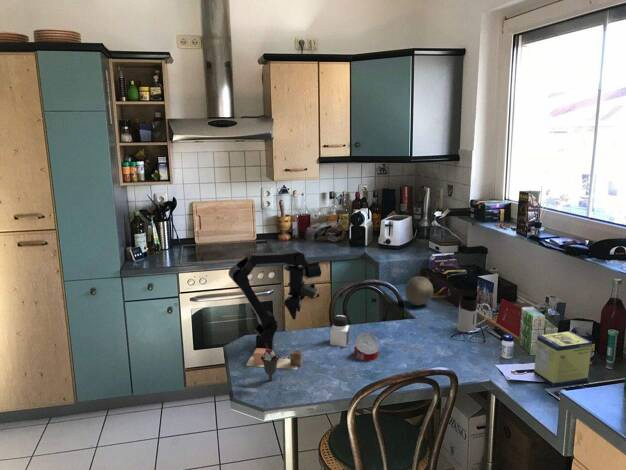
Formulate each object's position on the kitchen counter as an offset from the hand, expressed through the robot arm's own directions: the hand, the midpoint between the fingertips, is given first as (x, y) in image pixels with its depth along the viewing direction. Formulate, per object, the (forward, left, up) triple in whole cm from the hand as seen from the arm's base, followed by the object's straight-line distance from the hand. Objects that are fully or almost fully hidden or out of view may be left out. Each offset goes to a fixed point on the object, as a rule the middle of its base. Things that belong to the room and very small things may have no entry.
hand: (296, 315), depth 216 cm
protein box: (+102, -13, -13) cm, 104 cm away
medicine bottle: (+18, +4, -13) cm, 23 cm away
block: (-10, -21, -12) cm, 26 cm away
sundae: (-3, -35, -13) cm, 37 cm away
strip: (-5, -21, -13) cm, 25 cm away
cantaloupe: (+53, +59, -13) cm, 80 cm away
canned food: (+30, -6, -13) cm, 33 cm away
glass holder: (+76, +28, -13) cm, 82 cm away
